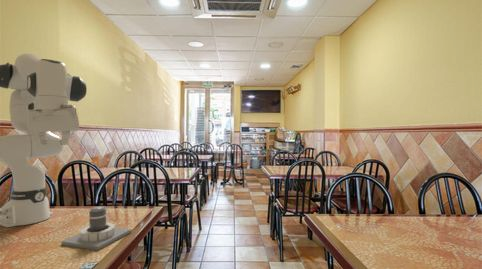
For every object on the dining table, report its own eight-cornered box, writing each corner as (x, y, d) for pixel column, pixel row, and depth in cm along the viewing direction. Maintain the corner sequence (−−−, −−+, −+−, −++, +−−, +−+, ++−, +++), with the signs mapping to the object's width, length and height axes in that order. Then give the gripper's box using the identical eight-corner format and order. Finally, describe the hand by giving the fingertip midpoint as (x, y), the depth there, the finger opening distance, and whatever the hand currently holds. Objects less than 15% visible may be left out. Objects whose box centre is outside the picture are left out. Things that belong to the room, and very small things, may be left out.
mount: (61, 244, 90) (61, 234, 90) (98, 228, 105) (98, 219, 105) (97, 250, 85) (97, 239, 85) (131, 232, 101) (131, 222, 100)
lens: (85, 237, 93) (85, 209, 93) (98, 231, 99) (97, 205, 98) (97, 238, 92) (97, 210, 92) (109, 232, 97) (109, 206, 97)
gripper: (83, 105, 90) (84, 144, 90) (41, 107, 96) (41, 144, 96) (66, 103, 84) (67, 145, 84) (22, 105, 90) (23, 145, 90)
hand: (53, 144), depth 90 cm, fingers open, 8 cm apart
